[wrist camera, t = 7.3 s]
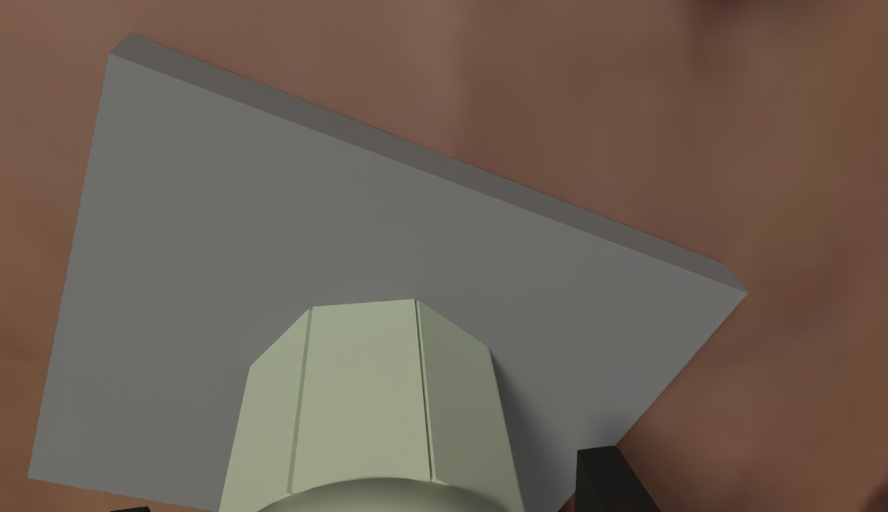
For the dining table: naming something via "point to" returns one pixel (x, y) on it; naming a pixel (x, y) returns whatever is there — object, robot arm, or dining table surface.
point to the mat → (331, 282)
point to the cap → (372, 418)
